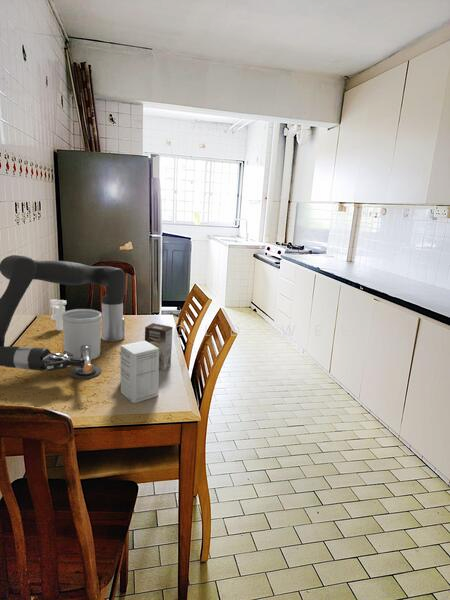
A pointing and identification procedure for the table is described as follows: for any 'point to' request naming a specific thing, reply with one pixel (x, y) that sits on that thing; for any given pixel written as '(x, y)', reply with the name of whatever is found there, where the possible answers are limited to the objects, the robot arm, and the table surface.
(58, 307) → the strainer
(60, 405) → the table surface
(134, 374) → the supplement box
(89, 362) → the metal lever
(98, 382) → the table surface
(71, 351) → the utensil holder
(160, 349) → the coffee box
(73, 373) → the base plate
